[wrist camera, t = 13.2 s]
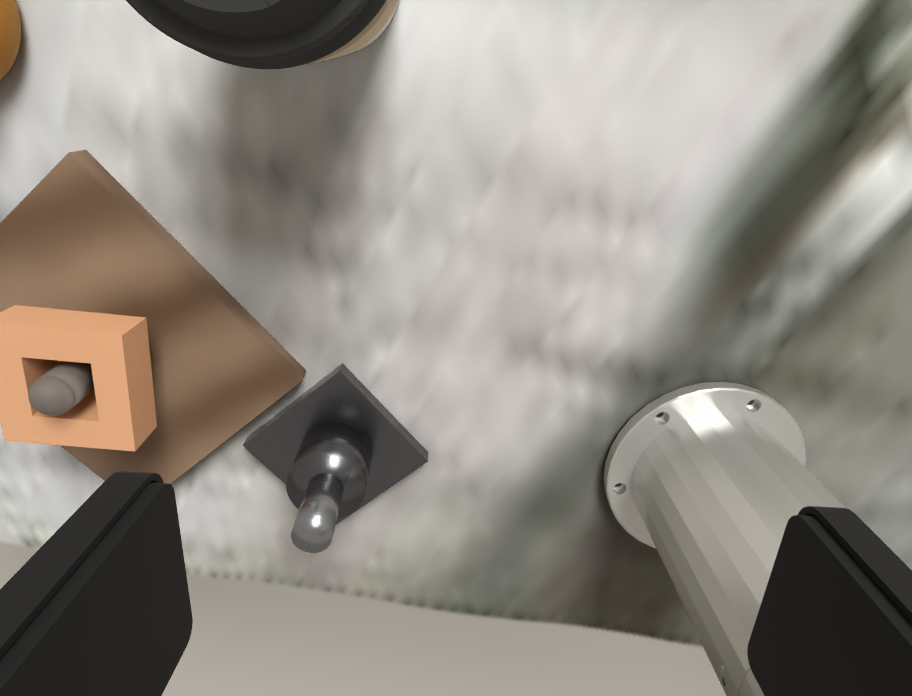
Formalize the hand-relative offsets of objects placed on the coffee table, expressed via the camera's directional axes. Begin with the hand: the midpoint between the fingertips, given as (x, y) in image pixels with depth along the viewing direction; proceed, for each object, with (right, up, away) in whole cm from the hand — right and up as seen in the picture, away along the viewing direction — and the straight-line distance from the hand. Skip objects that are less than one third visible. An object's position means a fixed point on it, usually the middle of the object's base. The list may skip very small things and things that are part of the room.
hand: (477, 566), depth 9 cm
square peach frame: (-20, +2, +22) cm, 29 cm away
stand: (-8, -3, +28) cm, 29 cm away
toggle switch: (-20, +4, +25) cm, 32 cm away
